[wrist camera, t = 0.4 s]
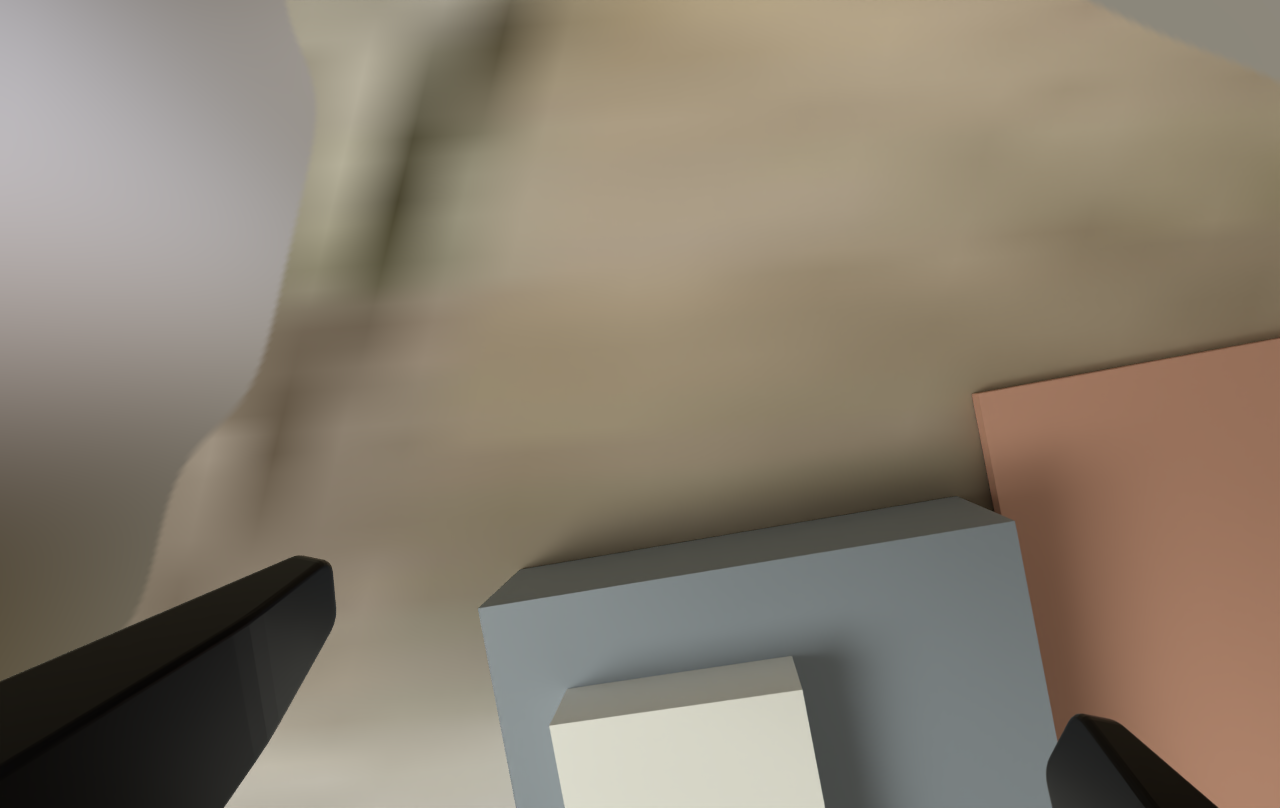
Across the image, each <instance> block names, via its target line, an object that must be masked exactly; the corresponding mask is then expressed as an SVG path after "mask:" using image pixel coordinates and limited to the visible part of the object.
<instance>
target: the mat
mask: <svg viewBox="0 0 1280 808" xmlns="http://www.w3.org/2000/svg"><path fill="white" fill-rule="evenodd" d="M972 398H973V403H974V408H975V413H976V419H977V424H978V429H979V434H980V439H981V445H982V450H983V455H984V460H985V465H986V471H987V476H988V481H989V486H990V491H991V497H992V502H993V507H994V512H995V513H998V514H1000V515H1002V516H1005V517H1007V518H1009V519H1012V520H1014V521H1015V524H1016V529H1017V534H1018V539H1019V545H1020V550H1021V555H1022V560H1023V565H1024V571H1025V576H1026V581H1027V586H1028V591H1029V597H1030V602H1031V607H1032V612H1033V617H1034V623H1035V628H1036V633H1037V638H1038V643H1039V649H1040V654H1041V659H1042V664H1043V669H1044V675H1045V680H1046V685H1047V690H1048V695H1049V701H1050V706H1051V711H1052V716H1053V721H1054V727H1055V732H1056V737H1057V742H1058V740H1059V738H1060V736H1061V734H1062V733H1063V731H1064V729H1065V727H1066V725H1067V723H1068V721H1069V720H1070V718H1071V717H1073V716H1074V715H1076V714H1080V713H1084V714H1089V715H1094V716H1099V717H1104V718H1109V719H1112V720H1115V721H1117V722H1119V723H1120V724H1122V725H1123V726H1124V727H1125V728H1127V729H1128V730H1129V731H1130V732H1131V733H1132V734H1134V735H1135V736H1136V737H1137V738H1138V739H1139V740H1141V741H1142V742H1143V743H1144V744H1145V745H1146V746H1147V747H1149V748H1150V749H1151V750H1152V751H1153V752H1154V753H1156V754H1157V755H1158V756H1159V757H1160V758H1161V759H1163V760H1164V761H1165V762H1166V763H1167V764H1168V765H1170V766H1171V767H1172V768H1173V769H1174V770H1175V771H1177V772H1178V773H1179V774H1180V775H1181V776H1182V777H1184V778H1185V779H1186V780H1187V781H1188V782H1189V783H1191V784H1192V785H1193V786H1194V787H1195V788H1196V789H1198V790H1199V791H1200V792H1201V793H1202V794H1203V795H1204V796H1206V797H1207V798H1208V799H1209V800H1210V801H1211V802H1213V803H1214V804H1215V805H1216V806H1217V807H1218V808H1280V337H1279V338H1274V339H1268V340H1263V341H1258V342H1252V343H1247V344H1241V345H1236V346H1230V347H1225V348H1219V349H1214V350H1208V351H1203V352H1198V353H1192V354H1187V355H1181V356H1176V357H1170V358H1165V359H1159V360H1154V361H1149V362H1143V363H1138V364H1132V365H1127V366H1121V367H1116V368H1110V369H1105V370H1100V371H1094V372H1089V373H1083V374H1078V375H1072V376H1067V377H1061V378H1056V379H1050V380H1045V381H1040V382H1034V383H1029V384H1023V385H1018V386H1012V387H1007V388H1001V389H996V390H991V391H985V392H980V393H974V394H972Z"/></svg>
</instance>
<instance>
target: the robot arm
mask: <svg viewBox="0 0 1280 808" xmlns="http://www.w3.org/2000/svg"><path fill="white" fill-rule="evenodd" d="M335 618H336V602H335V591H334V580H333V571H332V567H331V565H330V563H329V562H327V561H325V560H322V559H317V558H312V557H307V556H294V557H291V558H288V559H286V560H284V561H281V562H279V563H277V564H274V565H272V566H270V567H267V568H265V569H263V570H260V571H258V572H256V573H253V574H251V575H249V576H246V577H244V578H242V579H239V580H237V581H235V582H232V583H230V584H228V585H225V586H223V587H220V588H218V589H216V590H213V591H211V592H209V593H206V594H204V595H202V596H199V597H197V598H195V599H192V600H190V601H188V602H185V603H183V604H181V605H178V606H176V607H174V608H171V609H169V610H167V611H164V612H162V613H160V614H157V615H155V616H152V617H150V618H148V619H145V620H143V621H141V622H138V623H136V624H134V625H131V626H129V627H127V628H124V629H122V630H120V631H117V632H115V633H113V634H111V635H108V636H106V637H103V638H101V639H99V640H96V641H94V642H91V643H89V644H87V645H84V646H82V647H80V648H77V649H75V650H73V651H70V652H68V653H66V654H63V655H61V656H59V657H57V658H54V659H52V660H49V661H47V662H45V663H42V664H40V665H38V666H35V667H33V668H30V669H28V670H26V671H24V672H21V673H19V674H16V675H14V676H12V677H9V678H7V679H5V680H2V681H0V808H224V807H225V805H226V804H227V802H228V801H229V799H230V798H231V797H232V795H233V794H234V792H235V791H236V789H237V788H238V786H239V785H240V784H241V782H242V781H243V779H244V778H245V776H246V775H247V773H248V772H249V770H250V769H251V768H252V766H253V765H254V763H255V762H256V760H257V759H258V757H259V756H260V754H261V753H262V751H263V750H264V748H265V747H266V745H267V744H268V742H269V740H270V739H271V737H272V735H273V734H274V732H275V730H276V729H277V727H278V725H279V724H280V722H281V720H282V718H283V716H284V715H285V713H286V711H287V709H288V707H289V706H290V704H291V702H292V700H293V698H294V697H295V695H296V693H297V691H298V689H299V688H300V686H301V684H302V682H303V681H304V679H305V677H306V675H307V673H308V672H309V670H310V668H311V666H312V664H313V663H314V661H315V659H316V657H317V655H318V654H319V652H320V650H321V648H322V646H323V645H324V643H325V641H326V639H327V637H328V636H329V634H330V632H331V630H332V628H333V625H334V622H335ZM1046 782H1047V788H1048V792H1049V796H1050V801H1051V805H1052V808H1218V807H1217V806H1216V805H1215V804H1214V803H1213V802H1211V801H1210V800H1209V799H1208V798H1207V797H1206V796H1204V795H1203V794H1202V793H1201V792H1200V791H1199V790H1198V789H1196V788H1195V787H1194V786H1193V785H1192V784H1191V783H1189V782H1188V781H1187V780H1186V779H1185V778H1184V777H1182V776H1181V775H1180V774H1179V773H1178V772H1177V771H1175V770H1174V769H1173V768H1172V767H1171V766H1170V765H1168V764H1167V763H1166V762H1165V761H1164V760H1163V759H1161V758H1160V757H1159V756H1158V755H1157V754H1156V753H1154V752H1153V751H1152V750H1151V749H1150V748H1149V747H1147V746H1146V745H1145V744H1144V743H1143V742H1142V741H1141V740H1139V739H1138V738H1137V737H1136V736H1135V735H1134V734H1132V733H1131V732H1130V731H1129V730H1128V729H1127V728H1125V727H1124V726H1123V725H1122V724H1120V723H1119V722H1117V721H1115V720H1112V719H1109V718H1104V717H1099V716H1094V715H1089V714H1084V713H1080V714H1076V715H1074V716H1073V717H1071V718H1070V720H1069V721H1068V723H1067V725H1066V727H1065V729H1064V731H1063V733H1062V734H1061V736H1060V738H1059V740H1058V742H1057V744H1056V746H1055V748H1054V750H1053V752H1052V754H1051V755H1050V757H1049V760H1048V762H1047V767H1046Z"/></svg>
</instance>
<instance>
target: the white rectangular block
mask: <svg viewBox="0 0 1280 808" xmlns="http://www.w3.org/2000/svg"><path fill="white" fill-rule="evenodd" d="M549 728H550V733H551V738H552V743H553V749H554V754H555V759H556V764H557V770H558V775H559V780H560V785H561V791H562V796H563V801H564V806H565V808H825V805H824V800H823V795H822V789H821V784H820V779H819V774H818V769H817V763H816V758H815V753H814V748H813V742H812V737H811V732H810V727H809V722H808V716H807V711H806V706H805V701H804V696H803V690H802V687H801V684H800V680H799V677H798V674H797V671H796V667H795V664H794V661H793V657H792V656H787V657H780V658H773V659H766V660H760V661H753V662H746V663H739V664H733V665H726V666H719V667H712V668H705V669H699V670H692V671H685V672H678V673H672V674H665V675H658V676H651V677H645V678H638V679H631V680H624V681H617V682H611V683H604V684H597V685H590V686H584V687H577V688H570V689H567V690H566V692H565V694H564V696H563V698H562V700H561V702H560V704H559V706H558V708H557V711H556V713H555V715H554V717H553V719H552V721H551V723H550V725H549Z"/></svg>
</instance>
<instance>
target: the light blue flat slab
mask: <svg viewBox="0 0 1280 808" xmlns="http://www.w3.org/2000/svg"><path fill="white" fill-rule="evenodd" d="M478 611H479V616H480V621H481V627H482V632H483V637H484V642H485V648H486V653H487V658H488V663H489V668H490V674H491V679H492V684H493V689H494V695H495V700H496V705H497V710H498V716H499V721H500V726H501V731H502V737H503V742H504V747H505V752H506V757H507V763H508V768H509V773H510V778H511V784H512V789H513V794H514V799H515V805H516V808H565V806H564V801H563V796H562V791H561V785H560V780H559V775H558V770H557V764H556V759H555V754H554V749H553V743H552V738H551V733H550V728H549V725H550V723H551V721H552V719H553V717H554V715H555V713H556V711H557V708H558V706H559V704H560V702H561V700H562V698H563V696H564V694H565V692H566V690H567V689H570V688H577V687H584V686H590V685H597V684H604V683H611V682H617V681H624V680H631V679H638V678H645V677H651V676H658V675H665V674H672V673H678V672H685V671H692V670H699V669H705V668H712V667H719V666H726V665H733V664H739V663H746V662H753V661H760V660H766V659H773V658H780V657H787V656H792V657H793V661H794V664H795V667H796V671H797V674H798V677H799V680H800V684H801V687H802V690H803V696H804V701H805V706H806V711H807V716H808V722H809V727H810V732H811V737H812V742H813V748H814V753H815V758H816V763H817V769H818V774H819V779H820V784H821V789H822V795H823V800H824V805H825V808H1052V805H1051V801H1050V796H1049V792H1048V788H1047V782H1046V767H1047V762H1048V760H1049V757H1050V755H1051V754H1052V752H1053V750H1054V748H1055V746H1056V744H1057V737H1056V732H1055V727H1054V721H1053V716H1052V711H1051V706H1050V701H1049V695H1048V690H1047V685H1046V680H1045V675H1044V669H1043V664H1042V659H1041V654H1040V649H1039V643H1038V638H1037V633H1036V628H1035V623H1034V617H1033V612H1032V607H1031V602H1030V597H1029V591H1028V586H1027V581H1026V576H1025V571H1024V565H1023V560H1022V555H1021V550H1020V545H1019V539H1018V534H1017V529H1016V524H1015V521H1014V520H1012V519H1009V518H1007V517H1005V516H1002V515H1000V514H998V513H995V512H993V511H990V510H988V509H986V508H983V507H981V506H979V505H976V504H974V503H972V502H969V501H967V500H965V499H962V498H960V497H958V496H955V497H949V498H943V499H937V500H931V501H925V502H919V503H913V504H907V505H901V506H895V507H889V508H883V509H877V510H871V511H865V512H859V513H854V514H848V515H842V516H836V517H830V518H824V519H818V520H812V521H806V522H800V523H794V524H788V525H782V526H776V527H770V528H764V529H759V530H753V531H747V532H741V533H735V534H729V535H723V536H717V537H711V538H705V539H699V540H693V541H687V542H681V543H675V544H669V545H663V546H658V547H652V548H646V549H640V550H634V551H628V552H622V553H616V554H610V555H604V556H598V557H592V558H586V559H580V560H574V561H568V562H563V563H557V564H551V565H545V566H539V567H533V568H527V569H521V570H519V571H518V572H517V573H516V574H515V575H513V576H512V577H511V578H510V579H509V580H508V581H507V582H506V583H505V584H504V585H503V586H502V587H501V588H500V589H498V590H497V591H496V592H495V593H494V594H493V595H492V596H491V597H490V598H489V599H488V600H487V601H486V602H484V603H483V604H482V605H481V606H480V607H479V608H478Z"/></svg>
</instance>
